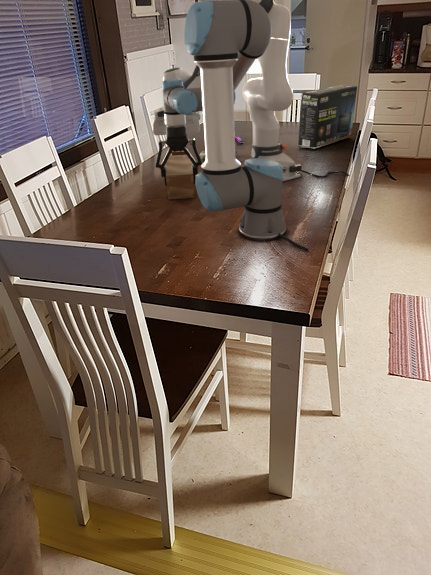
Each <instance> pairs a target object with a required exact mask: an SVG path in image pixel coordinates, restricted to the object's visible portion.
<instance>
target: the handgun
mask: <svg viewBox="0 0 431 575" xmlns="http://www.w3.org/2000/svg"><path fill="white" fill-rule="evenodd" d="M235 137H236V136H235ZM236 138H237V139H238V140H239V141H240V142H244V141H243V140H242V138H241V137H239V136H238V137H236ZM237 139H235V141H237V142H238V143H239V141H238V140H237ZM239 145H241V146H242V145H244V143H239Z"/></svg>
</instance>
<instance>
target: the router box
mask: <svg viewBox="0 0 431 575" xmlns="http://www.w3.org/2000/svg"><path fill="white" fill-rule="evenodd" d="M357 93H358V86H356V85H350V84H339V85H338V84H337V85H334V86H328V87H324V88H318V89H314V90H309V91H304V92H301V93H300V109H299V110H300V111H299V124H298V137H297V146H298V145H302V146H307V147H317V146H320V145H323V144H325V143H328V142H331V141H333V140H336V139H338V138H341V137H344V136H347V135H351V136H352V133H353V132H352V131H353V125H354V115H355V109H356V99H357ZM311 151H313V150H312V149H311Z"/></svg>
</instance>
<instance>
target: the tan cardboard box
mask: <svg viewBox="0 0 431 575" xmlns="http://www.w3.org/2000/svg"><path fill="white" fill-rule="evenodd" d="M192 166H193V163H192V162H191V161H190V159H189V158H188V156H187V155H175V156H169V158H168V160H167V162H166V164H165V167H166V182H167V186H166V191H167V200H182V199H183V200H184V199H195V184H194V180H193V167H192Z"/></svg>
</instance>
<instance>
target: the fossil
mask: <svg viewBox="0 0 431 575" xmlns="http://www.w3.org/2000/svg"><path fill="white" fill-rule="evenodd" d="M236 154H238V149H237V147H235V155H236ZM199 155H200V158H201V160H204V161H205V160H206V150H205V149H204V150H202V151H201V152H200V153H199Z"/></svg>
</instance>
